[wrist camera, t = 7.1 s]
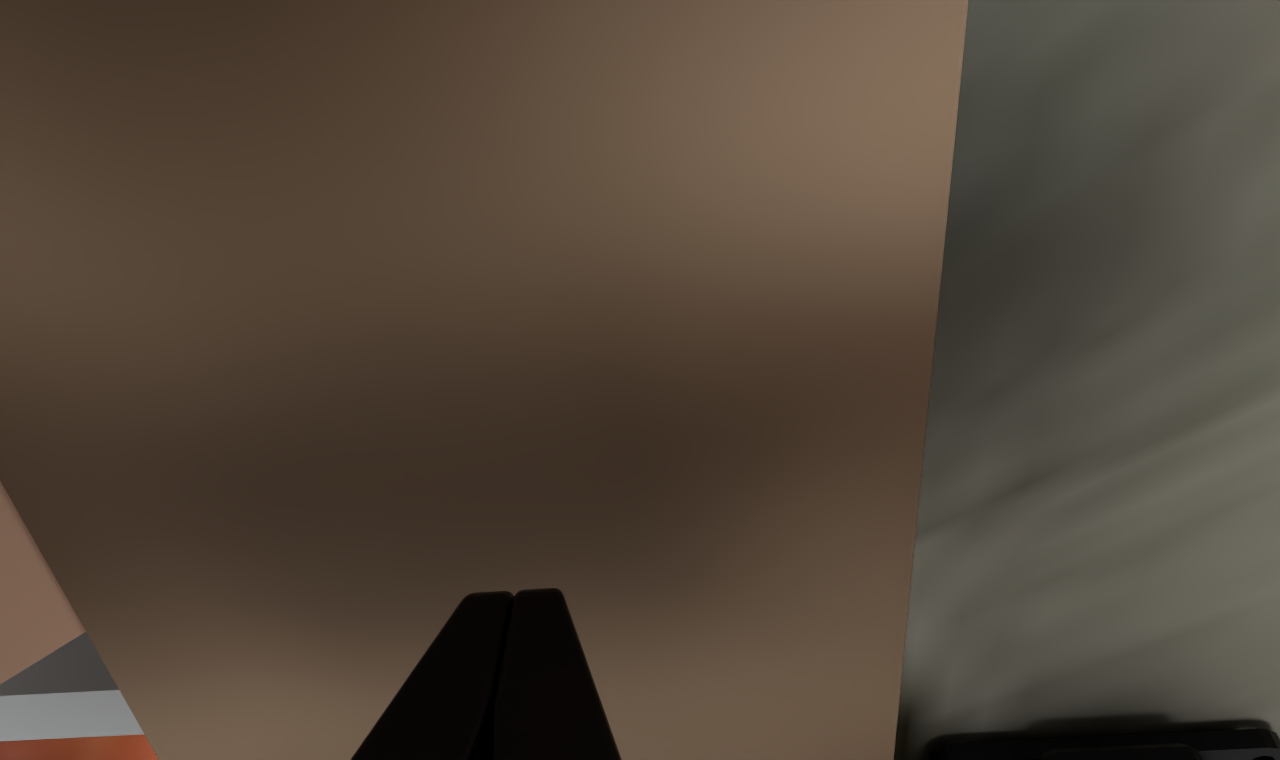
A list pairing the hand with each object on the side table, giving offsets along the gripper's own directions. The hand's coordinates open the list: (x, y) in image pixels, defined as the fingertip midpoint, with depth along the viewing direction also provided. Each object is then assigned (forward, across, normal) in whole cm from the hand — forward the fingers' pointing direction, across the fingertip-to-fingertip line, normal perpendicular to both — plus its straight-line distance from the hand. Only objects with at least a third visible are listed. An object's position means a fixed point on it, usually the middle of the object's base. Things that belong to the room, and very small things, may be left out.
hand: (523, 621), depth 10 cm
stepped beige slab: (+6, +1, 0) cm, 6 cm away
